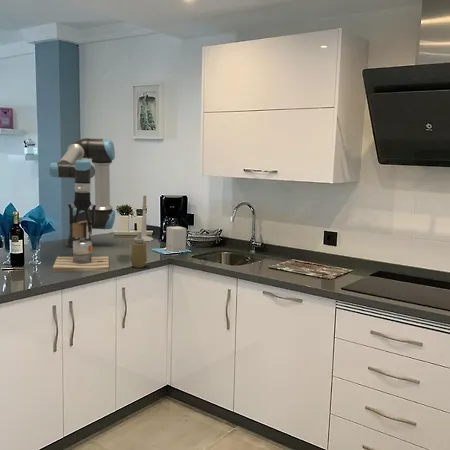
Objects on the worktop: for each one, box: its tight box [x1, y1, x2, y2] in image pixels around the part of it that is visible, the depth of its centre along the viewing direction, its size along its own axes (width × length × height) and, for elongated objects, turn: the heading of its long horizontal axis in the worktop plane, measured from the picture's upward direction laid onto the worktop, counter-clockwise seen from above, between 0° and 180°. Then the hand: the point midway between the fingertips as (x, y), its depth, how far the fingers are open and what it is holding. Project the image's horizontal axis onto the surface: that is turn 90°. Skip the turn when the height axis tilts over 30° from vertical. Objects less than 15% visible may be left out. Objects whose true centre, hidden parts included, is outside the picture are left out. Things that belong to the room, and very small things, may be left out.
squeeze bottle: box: [130, 231, 148, 268], centre depth 261 cm, size 8×8×18 cm
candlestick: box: [133, 195, 154, 242], centre depth 337 cm, size 13×13×30 cm
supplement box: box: [165, 226, 187, 252], centre depth 302 cm, size 9×9×15 cm
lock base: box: [52, 253, 110, 273], centre depth 258 cm, size 26×26×6 cm
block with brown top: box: [72, 220, 94, 255], centre depth 256 cm, size 10×12×16 cm
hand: (82, 238), depth 257 cm, fingers closed on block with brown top, 5 cm apart
